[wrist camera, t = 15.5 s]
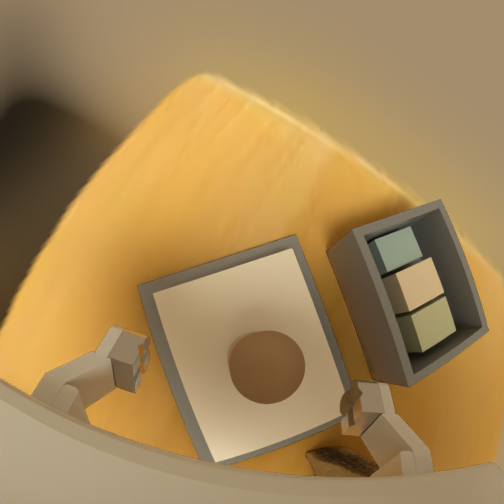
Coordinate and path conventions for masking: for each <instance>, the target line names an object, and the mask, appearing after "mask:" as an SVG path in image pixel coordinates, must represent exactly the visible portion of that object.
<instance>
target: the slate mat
mask: <svg viewBox="0 0 504 504" xmlns="http://www.w3.org/2000/svg"><path fill="white" fill-rule="evenodd" d="M291 248H292V249H293V251H294V254H295V257H296V259H297V262H298V264H299V267H300V269H301V272H302V275H303V277H304V280H305V283H306V285H307V288H308V290H309V293H310V296H311V298H312V301H313V304H314V306H315V309H316V312H317V315H318V317H319V320H320V323H321V325H322V328H323V331H324V334H325V337H326V339H327V342H328V345H329V348H330V350H331V353H332V356H333V359H334V362H335V365H336V367H337V370H338V373H339V376H340V379H341V382H342V385H343V388H344V391H348V390H350V384H351V381H350V379H349V376H348V373H347V370H346V367H345V364H344V361H343V358H342V355H341V353H340V350H339V347H338V344H337V341H336V339H335V336H334V333H333V330H332V327H331V325H330V322H329V319H328V317H327V314H326V311H325V308H324V306H323V303H322V300H321V298H320V295H319V292H318V290H317V287H316V285H315V282H314V279H313V277H312V274H311V272H310V269H309V266H308V264H307V261H306V259H305V256H304V254H303V251H302V249H301V246H300V244H299V241H298V239H297V236H296V235H293V236H290V237H287V238H283V239H280V240H277V241H274V242H271V243H268V244H265V245H262V246H258V247H255V248H252V249H249V250H246V251H243V252H240V253H237V254H234V255H231V256H227V257H224V258H221V259H218V260H215V261H212V262H209V263H206V264H203V265H200V266H196V267H193V268H190V269H187V270H184V271H181V272H178V273H175V274H172V275H169V276H166V277H162V278H159V279H156V280H153V281H150V282H147V283H144V284H141V285H138V290H139V294H140V297H141V301H142V304H143V308H144V311H145V314H146V318H147V321H148V324H149V327H150V331H151V334H152V337H153V340H154V343H155V346H156V349H157V352H158V355H159V358H160V361H161V364H162V367H163V369H164V372H165V375H166V378H167V380H168V383H169V386H170V388H171V391H172V394H173V396H174V399H175V402H176V404H177V407H178V409H179V412H180V414H181V417H182V419H183V421H184V424H185V426H186V429H187V431H188V433H189V436H190V438H191V440H192V443H193V445H194V447H195V449H196V452H197V454H198V456H199V458H200V460H205V461H209V462H214V463H219V464H224V465H230V464H234V463H237V462H240V461H243V460H246V459H250V458H253V457H256V456H259V455H262V454H264V453H267V452H270V451H273V450H276V449H278V448H281V447H284V446H286V445H289V444H291V443H294V442H296V441H299V440H301V439H304V438H306V437H309V436H311V435H313V434H316V433H318V432H320V431H323V430H325V429H327V428H329V427H331V426H334V425H336V424H338V423H340V422H341V420H342V419H343V418H344V417H343V416H342V415H341V416H339V417H337V418H335V419H333V420H331V421H328V422H326V423H324V424H322V425H319V426H317V427H315V428H313V429H310V430H308V431H305V432H303V433H301V434H298V435H296V436H293V437H291V438H288V439H285V440H283V441H280V442H277V443H275V444H272V445H269V446H266V447H263V448H261V449H258V450H255V451H252V452H249V453H246V454H242V455H239V456H236V457H233V458H229V459H226V460H223V461H219V462H215V461H214V458H213V456H212V454H211V452H210V449H209V447H208V445H207V443H206V440H205V438H204V436H203V433H202V431H201V429H200V426H199V424H198V421H197V419H196V416H195V414H194V412H193V409H192V406H191V404H190V401H189V399H188V396H187V394H186V391H185V388H184V386H183V383H182V380H181V378H180V375H179V372H178V369H177V367H176V364H175V361H174V358H173V355H172V352H171V349H170V346H169V343H168V340H167V337H166V334H165V331H164V328H163V325H162V322H161V319H160V316H159V312H158V309H157V306H156V302H155V299H154V296H153V293H155V292H159V291H162V290H165V289H168V288H171V287H174V286H177V285H180V284H183V283H187V282H190V281H193V280H196V279H199V278H202V277H205V276H208V275H211V274H214V273H217V272H221V271H224V270H227V269H230V268H233V267H236V266H239V265H242V264H245V263H248V262H251V261H254V260H257V259H260V258H263V257H266V256H269V255H273V254H276V253H279V252H282V251H285V250H288V249H291Z"/></svg>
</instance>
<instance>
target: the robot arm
mask: <svg viewBox="0 0 504 504" xmlns="http://www.w3.org/2000/svg"><path fill="white" fill-rule="evenodd" d="M149 343H150V339H149V336H146V335H143V334H140V333H137V332H134V331H131V330H128V329H126V328H122V327H119V326H117V325H112V326H111V327H110V329H109V330H108V332H107V333H106V335H105V337H104V338H103V340H102V342H101V343H100V345H99V346H98V348H97V350H96V351H95V352H92V351H91V352H89V353H87V354H85V355H83V356H81V357H79V358H77V359H74V360H72V361H70V362H68V363H66V364H64V365H62V366H59V367H57V368H55V369H53V370H51V371H49V372H47V373H45V375H44V376H43V378H42V379H41V381H40V382H39V384H38V385H37V387H36V389H35V390H34V392H33V393H32V395H31V396H30V395H29V394H27V393H25V392H23V391H22V390H20V389H18V388H16V387H15V386H13V385H11V384H10V383H8V382H6V381H5V380H3V379H1V378H0V504H504V472H503V470H502V469H501V468H499V466H497V465H496V464H495V463H492V462H489V463H483V464H479V465H474V466H469V467H464V468H458V469H452V470H446V471H439V472H434V467H433V463H432V458H431V453H430V449H429V448H428V447H427V446H426V444H425V443H424V442H423V441H422V440H421V439H420V438H419V437H418V436H417V434H416V433H415V432H414V431H413V430H412V429H411V428H410V427H409V426H408V424H407V423H406V422H405V421H404V420H403V419H402V418H401V417H400V416H399V414H395V409H394V405H393V401H392V396H391V392H390V388H389V385H388V384H387V383H378V382H370V381H360V380H354V381H352V383H351V384H350V390H348V391H345V393H344V394H343V396H342V398H341V401H340V413H341V414H342V416H343V417H344V418H343V419H342V420H341V429H342V435H353V436H360V438H361V440H362V441H363V443H364V444H365V446H366V447H367V449H368V451H369V452H370V454H371V455H372V457H373V458H374V460H375V461H376V463H377V465H378V466H379V468H380V469H378V470H377V471H376V472H374V473H373V474H372V475H371V476H370V477H321V476H305V475H293V474H283V473H274V472H266V471H259V470H252V469H246V468H240V467H234V466H229V465H224V464H219V463H214V462H209V461H205V460H200V459H196V458H192V457H188V456H184V455H180V454H176V453H173V452H169V451H165V450H162V449H159V448H155V447H152V446H149V445H146V444H142V443H139V442H136V441H133V440H131V439H128V438H125V437H122V436H119V435H117V434H114V433H111V432H109V431H106V430H103V429H101V428H98V427H96V426H93V425H91V424H90V422H89V419H88V417H87V414H86V411H85V409H86V408H87V407H89V406H90V405H92V404H93V403H95V402H96V401H98V400H99V399H100V398H102V397H103V396H105V395H106V394H108V393H109V392H111V391H112V390H114V389H115V388H116V387H117V388H120V389H123V390H126V391H130V392H133V393H136V391H137V389H138V387H139V384H140V382H141V374H142V373H144V372H145V370H146V368H147V365H148V362H149V356H150V350H149V349H148V348H147V347H148V345H149Z"/></svg>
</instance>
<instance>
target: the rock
mask: <svg viewBox="0 0 504 504" xmlns="http://www.w3.org/2000/svg"><path fill="white" fill-rule="evenodd" d="M305 457H306V458H307V459H308V460H309V461H310V464H311V467H312V469H313V471H314V475H315V476H321V477H370V476H371V475H372V474H373V473H374V472H376V471H377V470H378V469H380V468H379V466H378V465H377V463H375V462H372V461H369V460H368V459H367V458H365V457H364V456H362V455H360V454H359V453H357V452H355V451H353V450H351V449H349V448H347V447H325V448H320V449H316V450H314V451H310V452H307V453H306V454H305Z"/></svg>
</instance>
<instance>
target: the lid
mask: <svg viewBox="0 0 504 504" xmlns="http://www.w3.org/2000/svg"><path fill="white" fill-rule="evenodd" d="M153 296H154V299H155V302H156V306H157V309H158V312H159V316H160V319H161V322H162V325H163V328H164V331H165V334H166V337H167V340H168V343H169V346H170V349H171V352H172V355H173V358H174V361H175V364H176V367H177V369H178V372H179V375H180V378H181V380H182V383H183V386H184V388H185V391H186V394H187V396H188V399H189V401H190V404H191V406H192V409H193V412H194V414H195V416H196V419H197V421H198V424H199V426H200V429H201V431H202V433H203V436H204V438H205V440H206V443H207V445H208V447H209V449H210V452H211V454H212V456H213V458H214V461H215V462H219V461H223V460H226V459H229V458H233V457H236V456H239V455H242V454H246V453H249V452H252V451H255V450H258V449H261V448H263V447H266V446H269V445H272V444H275V443H277V442H280V441H283V440H285V439H288V438H291V437H293V436H296V435H298V434H301V433H303V432H305V431H308V430H310V429H313V428H315V427H317V426H319V425H322V424H324V423H326V422H328V421H331V420H333V419H335V418H337V417H339V416H341V415H342V414H341V413H340V401H341V398H342V396H343V394H344V393H345V391H344V388H343V385H342V382H341V379H340V376H339V373H338V370H337V367H336V365H335V362H334V359H333V356H332V353H331V350H330V348H329V345H328V342H327V339H326V337H325V334H324V331H323V328H322V325H321V323H320V320H319V317H318V315H317V312H316V309H315V306H314V304H313V301H312V298H311V296H310V293H309V290H308V288H307V285H306V283H305V280H304V277H303V275H302V272H301V269H300V267H299V264H298V262H297V259H296V257H295V254H294V251H293V249H292V248H291V249H288V250H285V251H282V252H279V253H276V254H273V255H269V256H266V257H263V258H260V259H257V260H254V261H251V262H248V263H245V264H242V265H239V266H236V267H233V268H230V269H227V270H224V271H221V272H217V273H214V274H211V275H208V276H205V277H202V278H199V279H196V280H193V281H190V282H187V283H183V284H180V285H177V286H174V287H171V288H168V289H165V290H162V291H159V292H155V293H153Z"/></svg>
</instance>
